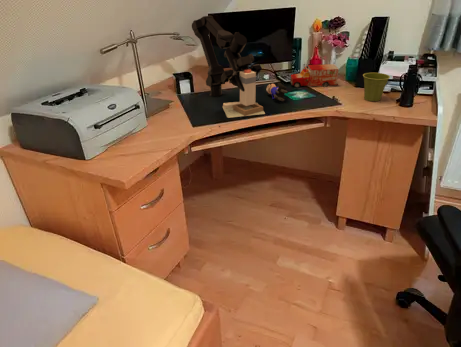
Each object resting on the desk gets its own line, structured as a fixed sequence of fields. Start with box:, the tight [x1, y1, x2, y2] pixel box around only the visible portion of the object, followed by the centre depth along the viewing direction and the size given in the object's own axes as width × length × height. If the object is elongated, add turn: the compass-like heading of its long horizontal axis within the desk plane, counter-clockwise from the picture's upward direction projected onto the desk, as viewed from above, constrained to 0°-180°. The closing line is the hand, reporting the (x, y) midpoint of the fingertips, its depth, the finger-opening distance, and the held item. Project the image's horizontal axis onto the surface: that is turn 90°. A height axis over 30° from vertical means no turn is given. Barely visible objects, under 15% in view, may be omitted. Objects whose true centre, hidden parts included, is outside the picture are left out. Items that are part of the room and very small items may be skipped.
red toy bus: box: [289, 63, 339, 88], centre depth 190 cm, size 11×25×10 cm, turn 89°
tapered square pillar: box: [239, 68, 257, 106], centre depth 154 cm, size 5×5×15 cm
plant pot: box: [362, 72, 391, 102], centre depth 166 cm, size 12×12×11 cm
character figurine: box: [265, 81, 288, 102], centre depth 173 cm, size 8×7×15 cm
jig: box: [222, 102, 266, 119], centre depth 160 cm, size 15×17×3 cm
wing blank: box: [222, 101, 240, 110], centre depth 164 cm, size 3×8×2 cm, turn 100°
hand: (249, 89), depth 153 cm, fingers closed on tapered square pillar, 5 cm apart
